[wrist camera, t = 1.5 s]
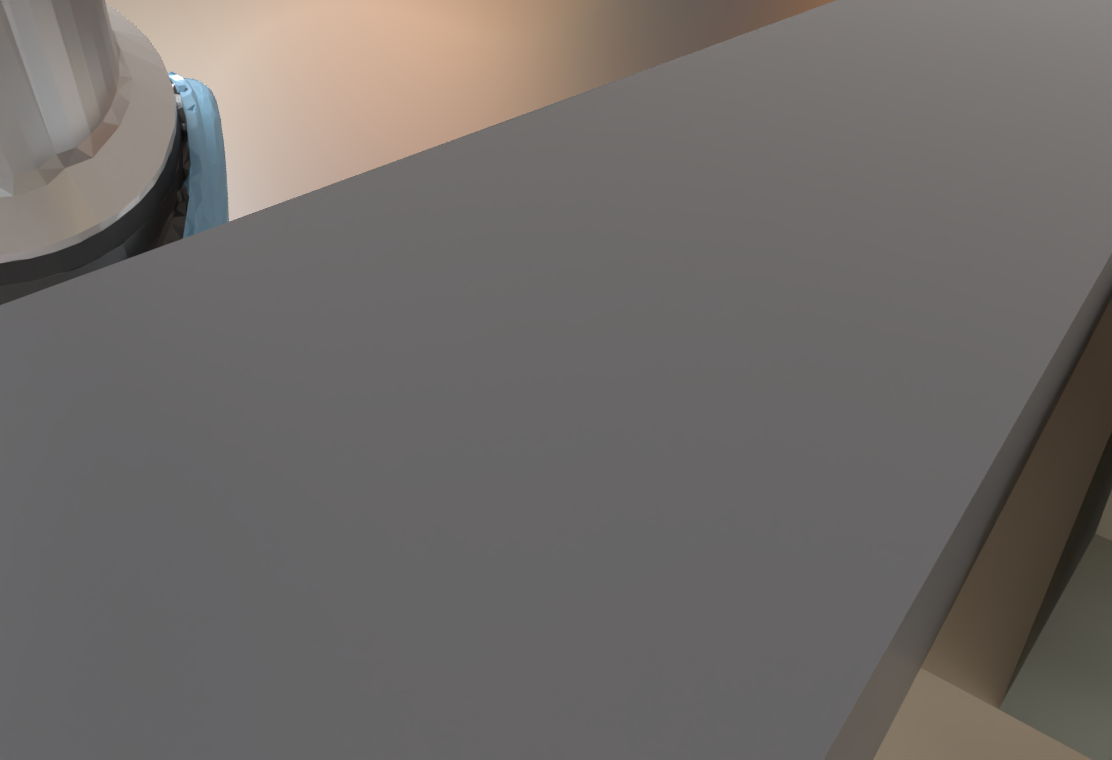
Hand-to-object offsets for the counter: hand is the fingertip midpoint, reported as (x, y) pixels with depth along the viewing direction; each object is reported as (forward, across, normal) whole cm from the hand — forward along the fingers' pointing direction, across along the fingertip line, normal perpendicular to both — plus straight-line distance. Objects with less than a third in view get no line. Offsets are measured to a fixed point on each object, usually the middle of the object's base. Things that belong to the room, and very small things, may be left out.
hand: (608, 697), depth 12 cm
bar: (-1, +3, +4) cm, 5 cm away
